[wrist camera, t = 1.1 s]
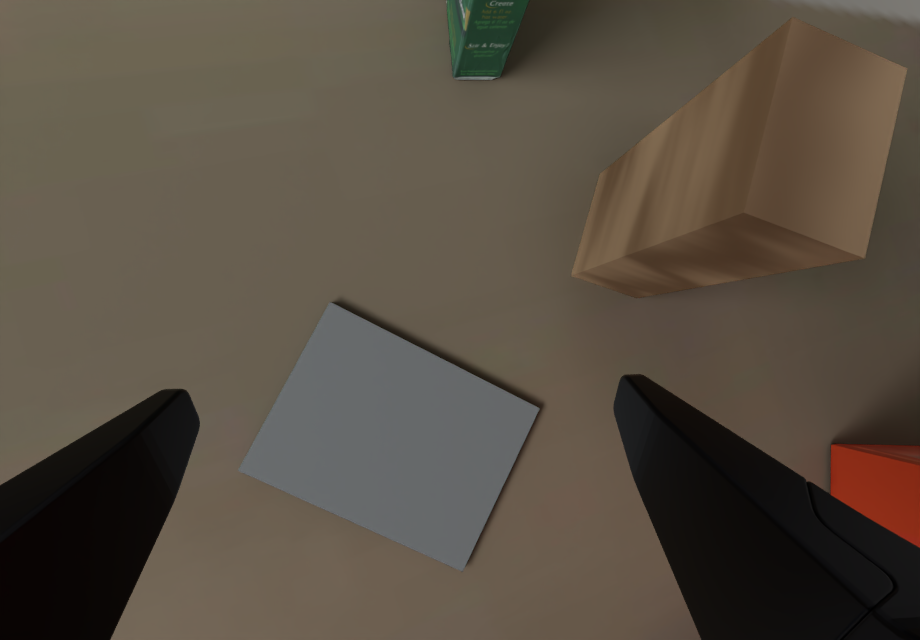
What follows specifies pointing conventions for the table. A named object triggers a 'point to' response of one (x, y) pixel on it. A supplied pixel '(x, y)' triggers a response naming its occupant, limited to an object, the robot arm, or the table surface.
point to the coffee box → (482, 35)
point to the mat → (391, 438)
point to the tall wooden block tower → (750, 172)
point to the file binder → (880, 484)
